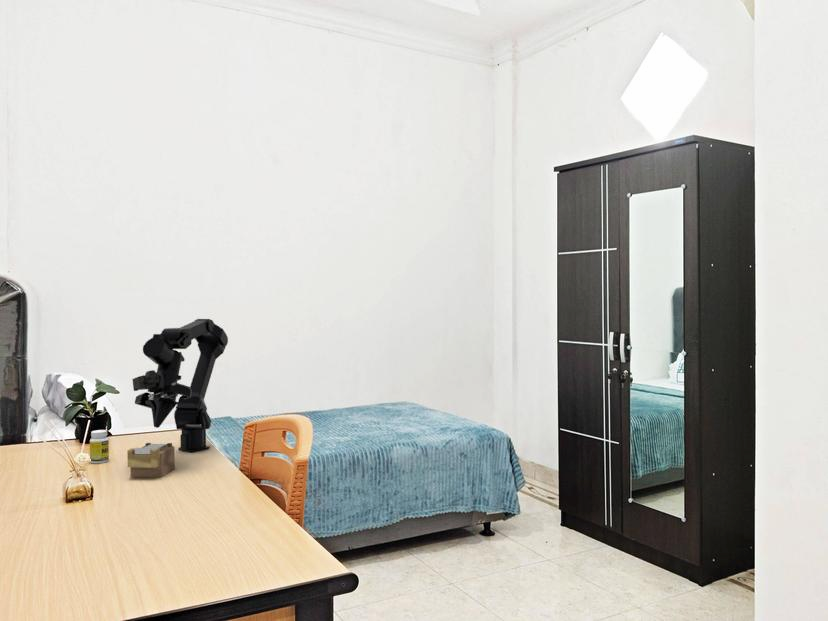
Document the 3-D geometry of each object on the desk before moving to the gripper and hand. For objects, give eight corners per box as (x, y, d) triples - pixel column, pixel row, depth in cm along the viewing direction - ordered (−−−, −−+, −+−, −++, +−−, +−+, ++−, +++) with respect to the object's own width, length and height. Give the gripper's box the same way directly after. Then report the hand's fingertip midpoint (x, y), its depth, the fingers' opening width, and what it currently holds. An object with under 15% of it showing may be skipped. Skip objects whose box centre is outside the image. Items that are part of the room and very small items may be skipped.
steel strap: (151, 445, 179) (151, 440, 179) (166, 446, 179) (166, 440, 179) (134, 454, 170) (134, 448, 170) (150, 454, 170) (150, 448, 170)
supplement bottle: (103, 463, 185) (103, 432, 185) (86, 463, 185) (86, 433, 185) (112, 459, 190) (111, 429, 190) (95, 459, 190) (94, 429, 190)
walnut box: (145, 468, 180) (144, 441, 180) (174, 468, 179) (174, 441, 179) (126, 479, 170) (125, 450, 169) (157, 479, 169) (157, 450, 169)
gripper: (123, 369, 187) (109, 425, 180) (159, 354, 175) (146, 413, 169) (160, 381, 194) (148, 435, 187) (197, 367, 183) (186, 424, 176)
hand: (156, 427), depth 180 cm, fingers closed
